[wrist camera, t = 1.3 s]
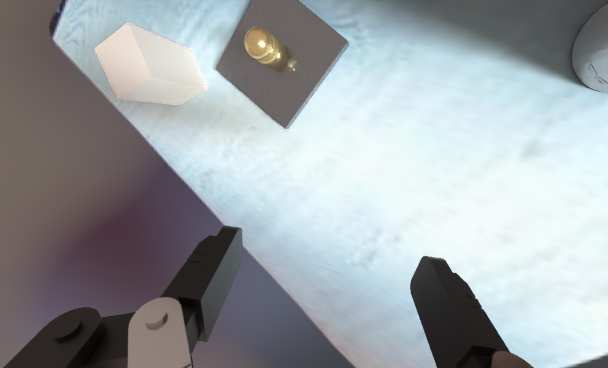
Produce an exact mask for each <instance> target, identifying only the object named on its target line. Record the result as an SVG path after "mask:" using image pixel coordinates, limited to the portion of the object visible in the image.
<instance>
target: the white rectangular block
mask: <svg viewBox="0 0 608 368" xmlns="http://www.w3.org/2000/svg"><path fill="white" fill-rule="evenodd" d="M94 51H95V53H96V55H97V57H98V59H99V61H100V63H101V66H102V68H103V70H104V72H105V74H106V76H107V78H108V80H109V82H110V84H111V87H112V89H113V91H114V93H115V95H116V97H117V99H120V100H130V101H140V102H150V103H160V104H170V105H182V104H184V103H186V102H187V101H189V100H191V99H193V98H195V97H196V96H198V95H200V94H202V93H204V92H205V91H207V90H209V88H208V86H207V83H206V81H205V79H204V76H203V74H202V71H201V69H200V67H199V64H198V62H197V59H196V57H195V55H194V52H193V50H192V49H190V48H187V47H185V46H182V45H180V44H178V43H175V42H173V41H171V40H168V39H166V38H164V37H161V36H159V35H156V34H154V33H152V32H149V31H147V30H145V29H142V28H140V27H138V26H135V25H133V24H130V23H128V22H127V23H126V24H125V25H123V26H122V27H121V28H120V29H118V30H117V31H116V32H114V33H113V34H112V35H111V36H109V37H108V38H107V39H106V40H104V41H103V42H102V43H100V44H99V45H98V46H97V47H95V48H94Z"/></svg>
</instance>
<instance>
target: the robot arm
mask: <svg viewBox="0 0 608 368" xmlns="http://www.w3.org/2000/svg"><path fill="white" fill-rule="evenodd" d="M572 64H573V69H574V71H575V73H576V75H577V77H578V78H579V79H580V80H581V81H582V82H583V83H584V84H585V85H587V86H588V87H590V88H592V89H594V90H597V91H601V92H606V93H608V3H607V4H606V5H604V6H603V7H601V8H600V9H599V10H598V11H597V12H596V13H594V14H593V15H592V16H591V17H590V18H589V19H588V21H587V22H586V23H585V25H584V26H583V27H582V28H581V30H580V32H579V34H578V36H577V38H576V40H575V43H574V46H573V49H572ZM242 252H243V251H242V229H241V228H238V227H232V226H223V227H222V229H221V230H220V232H219V233H218V235H217V236H208V237H207V238H205V239H204V240H203V241H201V242H200V243H199V244H198V245H197V247H196V248H195V250H194V251H193V253H192V254H191V255H190V257H189V258H188V259H187V262H185V264H184V265H183V266H182V268H181V269H180V271H179V272H178V273H177V275H176V276H175V278H174V279H173V280H172V282H171V283H170V285H169V286H168V287H167V289H166V290H165V292H164V293H163V294H162V295H161V297H160V298H158V299H155V300H152V301H150V302H148V303H147V304H145V305H143V306H142V307H141V308H140V309H138V311H137V312H134V313H129V314H122V315H116V316H109V317H102V318H101V316H100V314H99V312H98V311H97V310H96V309H93V308H89V307H88V308H86V307H84V308H78V309H74V310H71V311H69V312H66V313H64V314H62V315H60V316H58V317H57V318H55V319H54V320H52V321H51V322H50V323H49V324H47V325H46V326H45V327H44V328H43V329H42V330H41V331H40V332H39V333H38V334H37V335H36V336H35V337H34V338H33V339H32V340H31V341H30V342H29V343H28V344H27V345H26V346H25V347H24V348H23V349H22V350H21V351H20V352H19V353H18V354H17V355H16V356H15V357H14V358H13V359H12V360H11V361H10V362H9V363H8V364H7V365H6V366H5V367H4V368H194V365H193V360H192V355H191V354H192V352H193V349H194V347H195V345H196V343H197V341H203V342H207V341H208V339H209V336H210V334H211V332H212V329H213V327H214V325H215V323H216V320H217V318H218V316H219V313H220V311H221V309H222V306H223V304H224V302H225V300H226V297H227V295H228V293H229V290H230V288H231V286H232V283H233V281H234V279H235V276H236V274H237V272H238V270H239V267H240V264H241V261H242ZM410 290H411V295H412V298H413V301H414V304H415V306H416V309H417V312H418V315H419V318H420V320H421V323H422V326H423V329H424V332H425V335H426V337H427V340H428V343H429V346H430V349H431V352H432V354H433V357H434V360H435V363H436V366H437V368H533V367H532V366H531V365H530V364H529V363H527V362H526V361H525V360H523V359H522V358H520V357H518V356H517V355H515V354H512V353H510V351H509V350H508V348H507V347H506V345H505V343H504V342H503V340H502V339H501V337H500V335H499V334H498V332H497V330H496V329H495V327H494V326H493V324H492V322H491V321H490V319H489V318H488V316H487V314H486V313H485V311H484V310H483V309H482V306H481V305H480V303H479V302H478V300H477V299H475V295H474V294H473V292H472V290H471V289H470V287H469V286H468V284H467V283H466V282H465V281H464V280H463V279H462V278H461V277H460V276H459V275H458V274H457V273H453V272H452V271H451V269H450V267H449V266H448V264H447V262H446V261H445V260H444V259H442V258H435V257H428V256H423V257H422V259H421V260H420V263H419V265H418V267H417V269H416V271H415V273H414V275H413V277H412V280H411V284H410Z"/></svg>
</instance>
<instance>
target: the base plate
mask: <svg viewBox="0 0 608 368" xmlns="http://www.w3.org/2000/svg"><path fill="white" fill-rule="evenodd" d="M348 46H349V43H348V41H347V40H346V39H345V38H343V37H342V36H341V35H340V34H339V33H337V32H336V31H335V30H334V29H333V28H331V27H330V26H329V25H328V24H327V23H325V22H324V21H323V20H322V19H320V18H319V17H318V16H317V15H316V14H314V13H313V12H312V11H311V10H310V9H308V8H307V7H306V6H305V5H303V4H302V3H301V2H300V1H299V0H252V1H251V3H250V5H249V7H248V9H247V11H246V13H245V14H244V16H243V18H242V20H241V22H240V24H239V26H238V28H237V30H236V31H235V33H234V35H233V37H232V39H231V41H230V43H229V45H228V46H227V48H226V50H225V52H224V54H223V56H222V58H221V60H220V62H219V63H218V65H217V67H216V70H217V71H218V72H220V73H221V74H222V75H223V76H224V77H225V78H227V79H228V80H229V81H230V82H231V83H232V84H234V85H235V86H236V87H237V88H238V89H239V90H241V91H242V92H243V93H244V94H245V95H246V96H248V97H249V98H250V99H251V100H252V101H253V102H255V103H256V104H257V105H258V106H259V107H260V108H262V109H263V110H264V111H265V112H266V113H267V114H269V115H270V116H271V117H272V118H273V119H274V120H276V121H277V122H278V123H279V124H280V125H281V126H283V127H284V128H285V129H289V127H290V126H291V125H292V123H293V122H294V120H295V119H296V118H297V116H298V115H299V113H300V112H301V111H302V109H303V108H304V107H305V105H306V104H307V102H308V101H309V100H310V98H311V97H312V96H313V94H314V93H315V91H316V90H317V89H318V87H319V86H320V84H321V83H322V82H323V80H324V79H325V78H326V76H327V75H328V73H329V72H330V71H331V69H332V68H333V67H334V65H335V64H336V62H337V61H338V60H339V58H340V57H341V55H342V54H343V53H344V51H345V50H346V49H347V47H348Z"/></svg>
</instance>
